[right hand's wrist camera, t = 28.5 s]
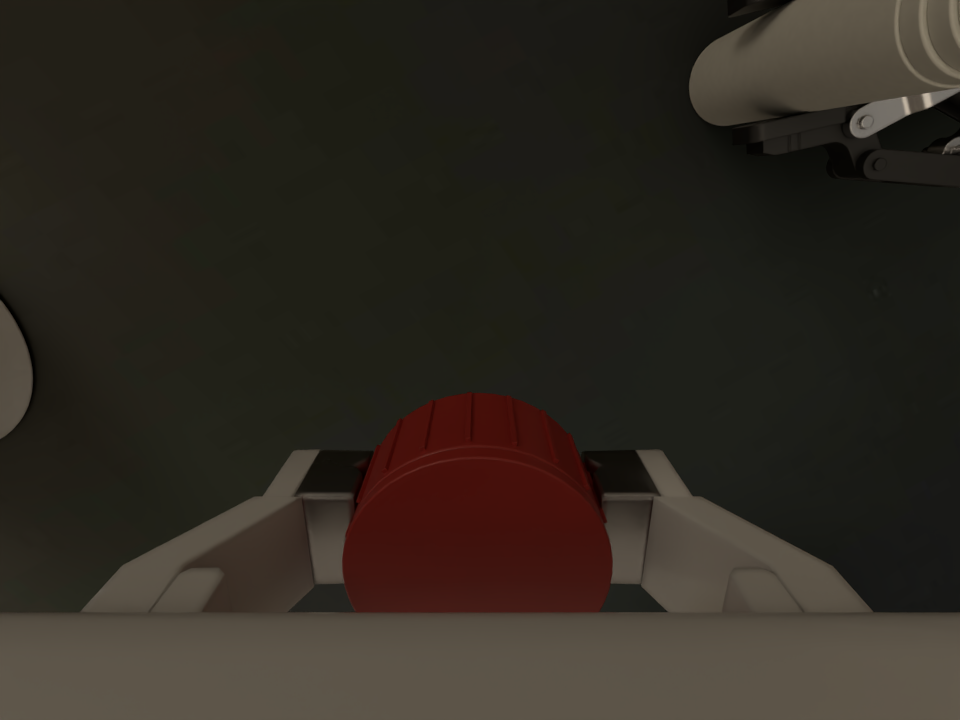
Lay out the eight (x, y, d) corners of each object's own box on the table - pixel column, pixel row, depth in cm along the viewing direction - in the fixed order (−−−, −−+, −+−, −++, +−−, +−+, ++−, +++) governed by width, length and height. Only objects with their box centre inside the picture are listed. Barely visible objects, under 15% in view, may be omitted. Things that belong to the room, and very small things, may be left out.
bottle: (768, 23, 26) (1502, -333, 8) (772, 114, 28) (1394, 3, 9) (684, 47, 27) (1188, -239, 8) (692, 135, 28) (1133, 71, 9)
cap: (392, 363, 9) (366, 423, 7) (619, 419, 9) (659, 491, 7) (350, 551, 10) (317, 647, 8) (549, 593, 11) (565, 695, 9)
